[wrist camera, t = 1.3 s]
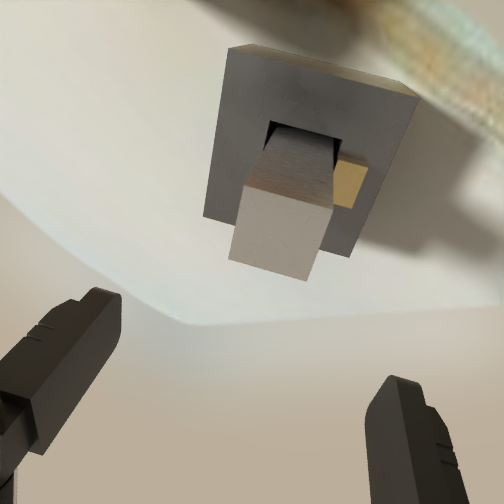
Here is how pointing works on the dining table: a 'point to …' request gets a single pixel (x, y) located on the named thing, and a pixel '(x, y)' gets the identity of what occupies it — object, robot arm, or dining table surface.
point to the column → (286, 203)
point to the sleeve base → (312, 119)
